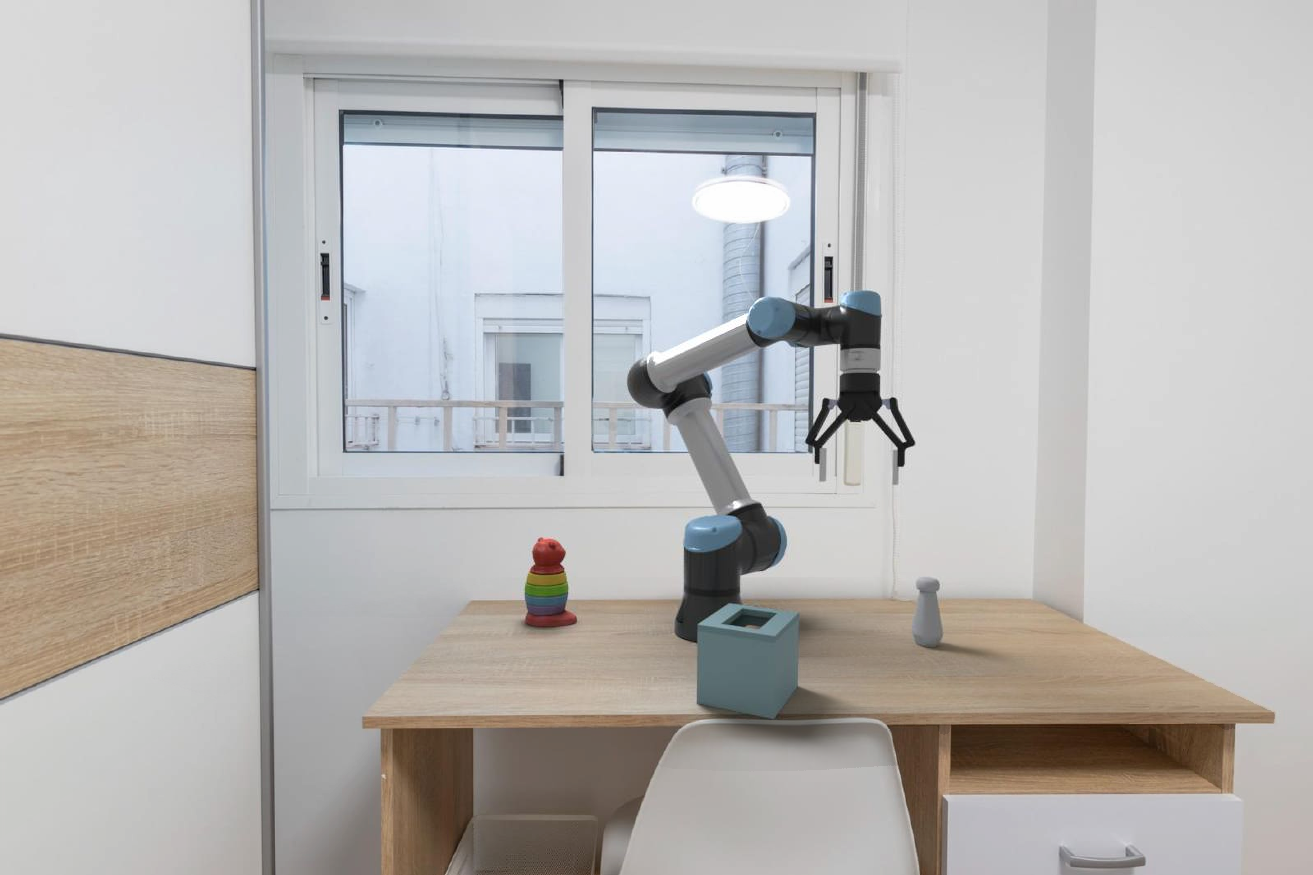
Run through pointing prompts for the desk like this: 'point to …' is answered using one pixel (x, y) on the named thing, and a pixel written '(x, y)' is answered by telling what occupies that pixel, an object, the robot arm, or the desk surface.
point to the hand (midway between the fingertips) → (858, 483)
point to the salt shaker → (927, 614)
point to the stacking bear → (547, 586)
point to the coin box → (748, 659)
